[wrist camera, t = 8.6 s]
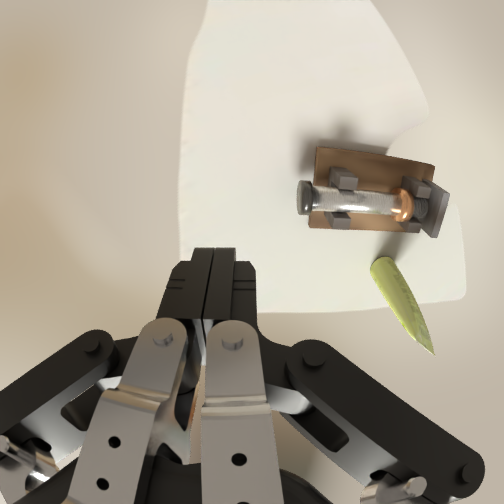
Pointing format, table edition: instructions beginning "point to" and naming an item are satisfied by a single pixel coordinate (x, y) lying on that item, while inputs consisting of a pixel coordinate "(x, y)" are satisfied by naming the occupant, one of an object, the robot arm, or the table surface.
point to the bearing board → (377, 189)
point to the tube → (401, 300)
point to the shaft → (360, 201)
